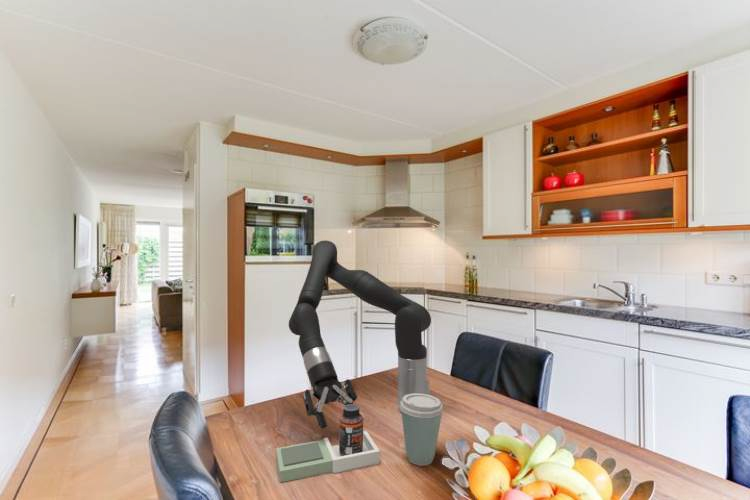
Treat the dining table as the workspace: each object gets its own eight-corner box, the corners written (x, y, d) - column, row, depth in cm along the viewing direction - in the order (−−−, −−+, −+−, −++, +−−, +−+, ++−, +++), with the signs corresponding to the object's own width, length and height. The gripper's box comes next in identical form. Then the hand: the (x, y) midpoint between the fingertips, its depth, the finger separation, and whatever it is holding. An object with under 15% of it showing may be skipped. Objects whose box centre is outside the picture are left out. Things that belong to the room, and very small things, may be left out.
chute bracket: (366, 441, 98) (366, 430, 98) (379, 463, 88) (379, 451, 88) (323, 449, 94) (323, 438, 94) (333, 473, 84) (333, 460, 84)
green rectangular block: (324, 449, 94) (324, 437, 94) (333, 471, 85) (333, 458, 85) (276, 458, 90) (276, 446, 90) (280, 482, 81) (280, 469, 81)
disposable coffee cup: (415, 442, 97) (414, 386, 97) (451, 457, 91) (451, 396, 91) (391, 460, 89) (390, 399, 89) (429, 478, 82) (429, 411, 82)
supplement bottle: (353, 461, 88) (353, 414, 88) (334, 454, 91) (334, 408, 91) (367, 450, 93) (367, 405, 93) (348, 443, 96) (348, 400, 96)
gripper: (336, 368, 111) (357, 421, 101) (292, 378, 102) (310, 437, 93) (345, 355, 106) (368, 410, 97) (300, 365, 98) (319, 425, 89)
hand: (339, 423), depth 95 cm, fingers open, 8 cm apart
